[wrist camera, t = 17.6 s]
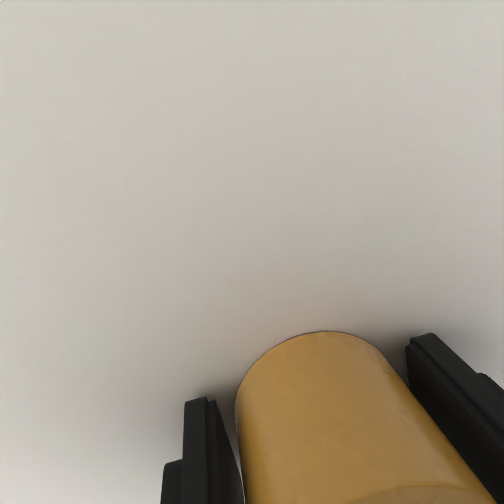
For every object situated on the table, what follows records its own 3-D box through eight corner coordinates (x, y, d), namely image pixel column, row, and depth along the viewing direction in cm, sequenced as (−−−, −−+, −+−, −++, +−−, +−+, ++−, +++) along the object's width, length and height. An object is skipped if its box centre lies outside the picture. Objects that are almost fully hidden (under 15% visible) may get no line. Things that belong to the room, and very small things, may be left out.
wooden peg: (214, 358, 10) (228, 536, 6) (384, 310, 10) (515, 449, 6) (255, 483, 12) (288, 695, 7) (401, 440, 12) (515, 622, 8)
